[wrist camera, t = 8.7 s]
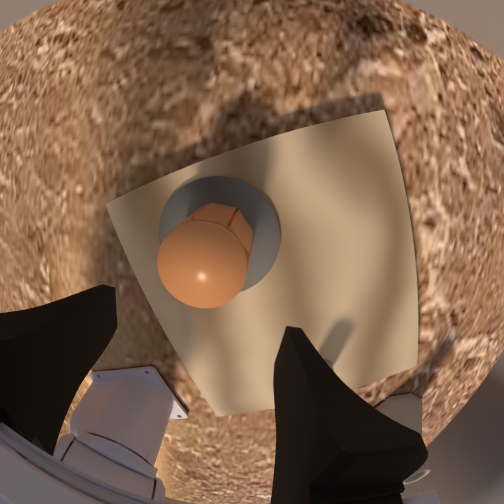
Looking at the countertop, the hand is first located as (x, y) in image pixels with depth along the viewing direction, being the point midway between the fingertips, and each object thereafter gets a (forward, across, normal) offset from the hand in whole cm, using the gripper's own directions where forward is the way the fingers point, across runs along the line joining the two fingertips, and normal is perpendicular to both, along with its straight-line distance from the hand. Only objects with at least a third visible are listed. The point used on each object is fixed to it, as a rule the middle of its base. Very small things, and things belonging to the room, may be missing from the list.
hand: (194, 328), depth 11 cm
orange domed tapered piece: (+8, 0, -1) cm, 8 cm away
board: (+10, -5, +2) cm, 11 cm away
